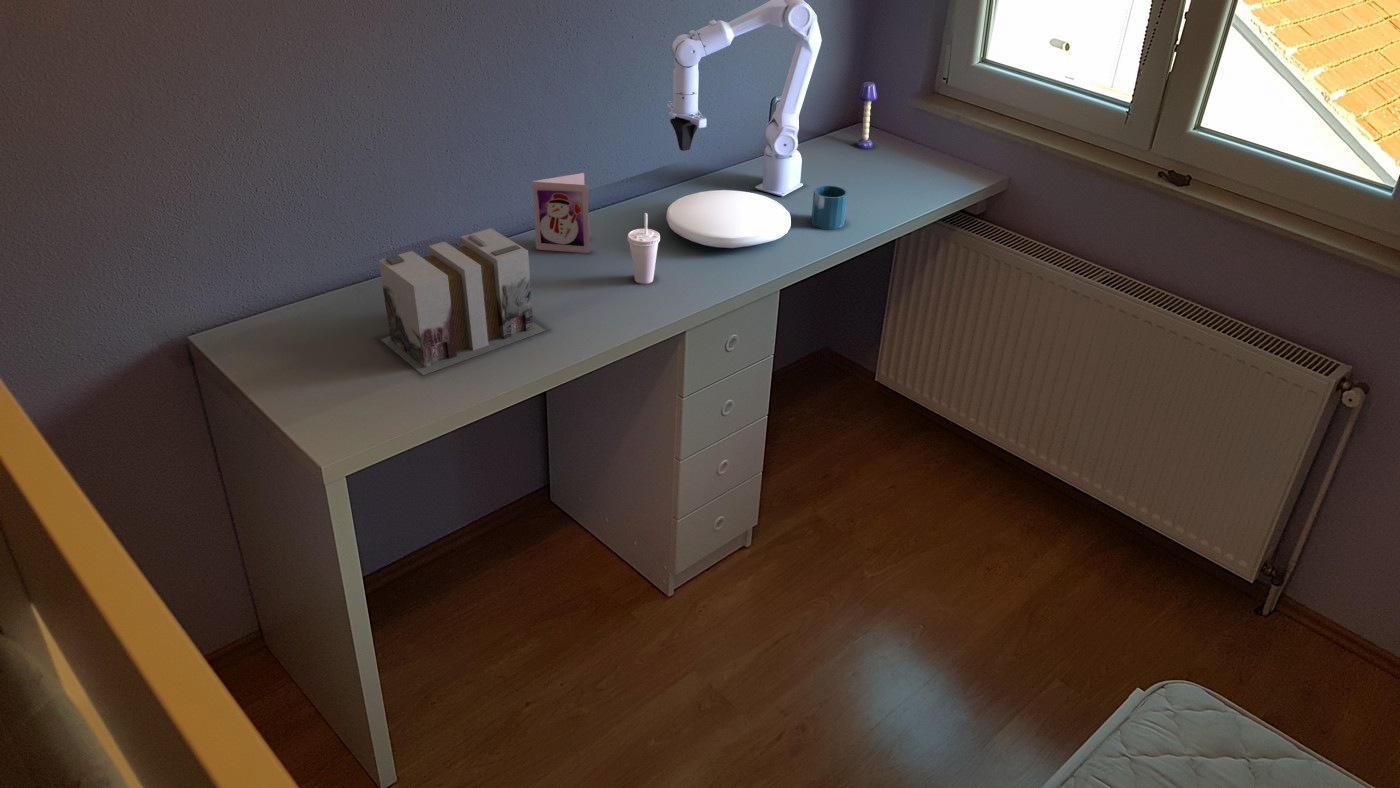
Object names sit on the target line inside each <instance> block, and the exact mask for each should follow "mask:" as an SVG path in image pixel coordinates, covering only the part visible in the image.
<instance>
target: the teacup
mask: <svg viewBox="0 0 1400 788" xmlns="http://www.w3.org/2000/svg"><path fill="white" fill-rule="evenodd" d="M847 199H848V190H846V189H845V188H844V187H842V186H837V185H831V184H830V185H825V184H824V185H820V186H817V187H815V188H814V190H813V195H812V210H811V219H810V220H811V221H810V222H811V225H812V226H814V227H816V228H818V229H821V230H826V231H827V230H828V231H833V230H839V229H841V228H843V227H844V225H845V221H846V213H847V212H846V211H847V201H848V200H847Z"/></svg>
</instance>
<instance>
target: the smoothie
mask: <svg viewBox="0 0 1400 788" xmlns="http://www.w3.org/2000/svg"><path fill="white" fill-rule="evenodd" d="M643 214H644V215H643V216H644V228H636V229H633V230H631V231H629V232H628V233H627V242H628V243H629V249H630V255H631V262H632V270H633V276H634V281H635V282H636V283H637V284H642V285H643V284H650V283H652V282H653V281H654V277H655V270H656V261H657V256H658V248H659V243H660V241H661V235H660V233H659V232H658V231H656V230H654V229H651V228H648V213H647V212H644V213H643Z"/></svg>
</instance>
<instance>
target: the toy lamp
mask: <svg viewBox="0 0 1400 788" xmlns="http://www.w3.org/2000/svg"><path fill="white" fill-rule="evenodd" d="M876 87H877V86H876V84H875V82H873V81H865V82H863V84H862V86H861V89H860V92H859V95H858V99H859V100H860V101H863V103H864V105H863V118H862V122H863V123H862V131H861V132H862V135H861V138H859V140H858V141H857V142H856V146H855V147H857V148H859V149H863V150H864V149H865V150H869V149H872V148H873V146H874V145H873V142H872V140H871V139H869V138H870V137H869V133H870V121H871V117H870V116H871V108H872V105H871V104H872V102H874V101H877V99H878V93H877V88H876Z"/></svg>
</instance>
